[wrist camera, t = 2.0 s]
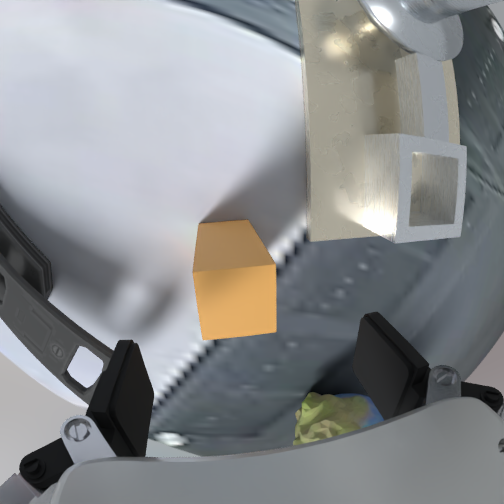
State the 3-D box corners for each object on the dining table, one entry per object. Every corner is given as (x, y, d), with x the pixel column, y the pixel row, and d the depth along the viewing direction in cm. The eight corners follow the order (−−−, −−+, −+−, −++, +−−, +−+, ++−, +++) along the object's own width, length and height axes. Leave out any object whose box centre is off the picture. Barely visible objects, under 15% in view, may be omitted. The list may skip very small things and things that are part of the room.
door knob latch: (289, -41, 15) (349, -134, 1) (432, 4, 17) (520, -27, 3) (306, 238, 24) (412, 337, 10) (449, 227, 27) (551, 276, 13)
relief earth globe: (420, 480, 20) (368, 472, 16) (313, 508, 27) (234, 495, 22) (403, 394, 32) (351, 349, 28) (314, 432, 38) (247, 400, 34)
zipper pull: (100, 418, 20) (-77, 262, 12) (114, 374, 27) (-42, 242, 19) (140, 370, 19) (-66, 186, 11) (152, 323, 25) (-24, 175, 17)
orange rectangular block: (198, 223, 23) (192, 271, 13) (248, 219, 23) (275, 264, 14) (203, 269, 24) (202, 340, 15) (250, 265, 25) (276, 332, 15)
